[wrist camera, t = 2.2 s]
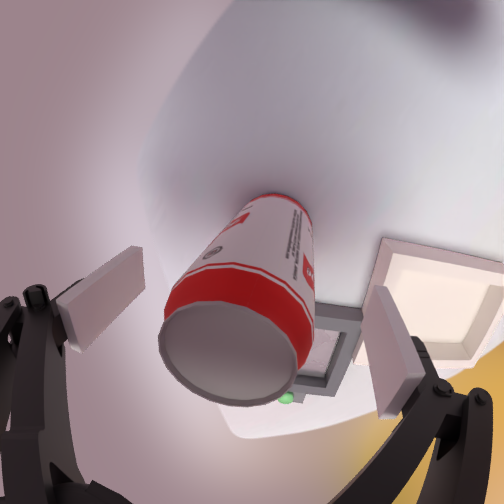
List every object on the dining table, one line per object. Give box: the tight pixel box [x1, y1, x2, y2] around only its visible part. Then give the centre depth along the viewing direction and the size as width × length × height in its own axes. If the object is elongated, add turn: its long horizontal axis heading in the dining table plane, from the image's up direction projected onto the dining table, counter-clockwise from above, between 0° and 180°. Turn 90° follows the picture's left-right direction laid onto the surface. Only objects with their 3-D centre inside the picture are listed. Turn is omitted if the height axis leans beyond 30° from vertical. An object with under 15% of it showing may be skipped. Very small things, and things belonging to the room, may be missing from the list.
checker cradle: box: [277, 302, 364, 404], centre depth 27 cm, size 13×11×2 cm
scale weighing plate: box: [297, 328, 339, 377], centre depth 27 cm, size 7×7×1 cm
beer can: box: [158, 194, 315, 407], centre depth 16 cm, size 6×6×16 cm
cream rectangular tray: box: [352, 238, 504, 369], centre depth 22 cm, size 11×15×4 cm
